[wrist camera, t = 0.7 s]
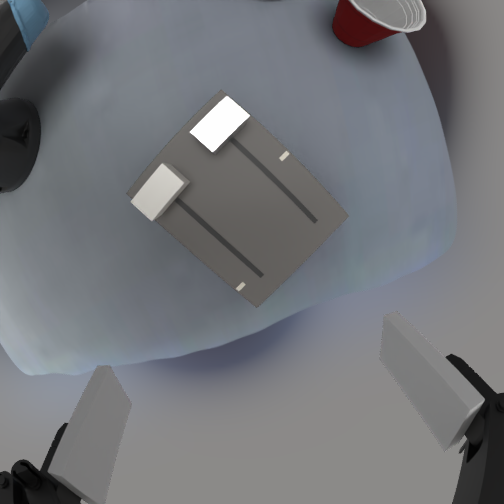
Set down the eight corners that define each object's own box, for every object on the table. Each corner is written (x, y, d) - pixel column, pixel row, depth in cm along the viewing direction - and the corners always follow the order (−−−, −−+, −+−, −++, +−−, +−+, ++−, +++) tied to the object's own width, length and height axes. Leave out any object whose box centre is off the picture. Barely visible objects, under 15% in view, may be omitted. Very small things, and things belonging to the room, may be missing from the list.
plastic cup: (301, 7, 26) (324, -41, 15) (362, 4, 26) (398, -33, 14) (331, 66, 29) (371, 30, 18) (392, 60, 29) (440, 33, 17)
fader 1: (142, 198, 29) (130, 201, 25) (170, 164, 28) (162, 163, 25) (161, 215, 30) (151, 221, 26) (190, 181, 29) (184, 183, 25)
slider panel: (134, 191, 32) (126, 193, 29) (221, 96, 30) (221, 89, 27) (254, 297, 37) (256, 308, 34) (340, 212, 35) (349, 216, 32)
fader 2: (195, 137, 28) (190, 132, 24) (227, 105, 27) (227, 95, 23) (215, 155, 29) (212, 152, 25) (247, 123, 28) (249, 115, 24)
